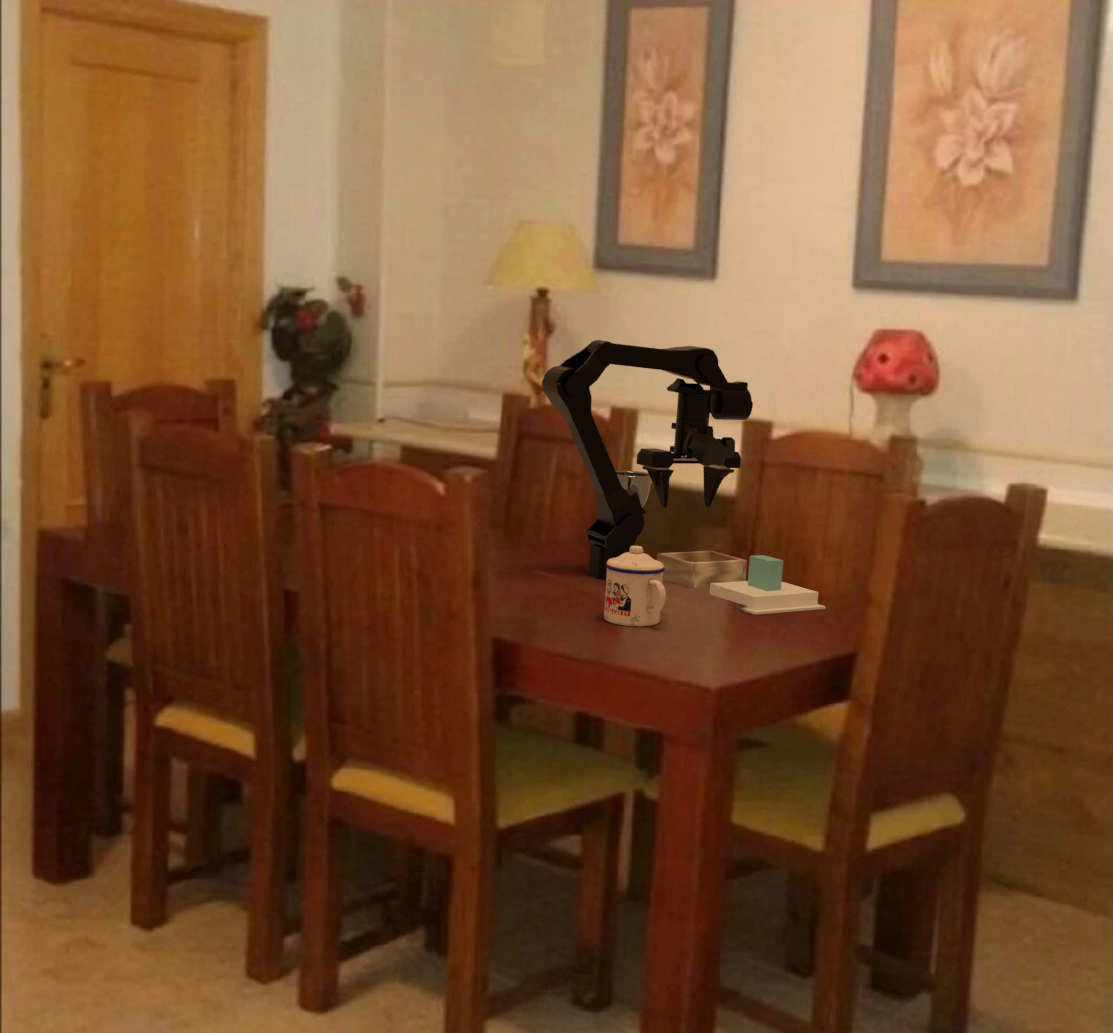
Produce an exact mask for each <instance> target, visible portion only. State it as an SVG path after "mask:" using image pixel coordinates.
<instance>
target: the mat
mask: <svg viewBox="0 0 1113 1033" xmlns="http://www.w3.org/2000/svg"><path fill="white" fill-rule="evenodd" d="M742 606H743V605H741V606H732V608H734V609H736V610H740V611H743V612H746V613H749V614H753V615H767V614H778V613H780V614H781V613H789V612H790V613H792V612H801V611H802V612H803V611H804V612H805V611H813V610H815V611H816V610H826V606H825V605H822V604H819V603H817V605H813V606H801V607H789V608H776V609H764V610H751V609H748V608H745V607H742Z"/></svg>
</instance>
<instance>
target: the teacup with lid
mask: <svg viewBox="0 0 1113 1033" xmlns="http://www.w3.org/2000/svg"><path fill="white" fill-rule="evenodd" d="M643 550H644V549H643V547H642V546H640V545H634V546H631V547H630V552H626V553H623V554H622V555H620V556H618V557H615V558H611V559H609V560H608V561H607V564H606V568H607V576H606V579H605V580H606V581H605V592H604V593H605V595H604V609H603V619H604V620H605V621H607V622H608V623H611V624H614V625H619V626H625V627H626V626H627V627H651V626H654V625H657V624H658V623H660V620H661V610H662V609H663V607H664V605H665V604H666V598H667V592H666V589H665V585H664V584H663V580H662V579H663V571H664V570H665V568H664V565H663V563H661V562H659V561H657V559H654V558H653V557H651V556H650V554H648V553H645V552H643Z"/></svg>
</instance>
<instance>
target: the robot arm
mask: <svg viewBox="0 0 1113 1033" xmlns="http://www.w3.org/2000/svg"><path fill="white" fill-rule="evenodd" d="M610 365H616V366H621V367H622V366H624V367H632V368H639V369H640V368H641V369H642V368H643V369H648V370H649V369H650V370H651V369H652V370H658V371H663V372H666V373H669V374H671V375H674V376H677V378H676V379H675V380H674V381H673V382H672V383H671V384H670V385H669V386H667V387H666V390H667V391H668V392H671V393H672V392H673V393H676V394H677V406H676V408H677V409H676V418H675V422H671V428H670V429H674V430H675V433H674V443H673V445H670V446H669V450H664V449H661V448H641V449H640V450H639V451H638V452H637V454H636V465H640V466H642V470H646V473H648V474H649V476H650V478H651V483H652V484H653V487H654V489H655V492H656V495H657V498H658V501H659V503H660V507H661V508H663V509H666V508H667V507H668V502H669V488H670V478H671V476H672V474H673V473H674V469H670V468H671V467H672V465H673V464H674V465H675V464H676V465H677V464H680V465H681V464H686V465H687V464H688V465H689V464H694V465H695V464H700V465H702V466H703V502H704V507H706V508H710V507H711V506H712V503H713V501H714V500H715V497H716V494H717V492H718V489H719V488H720V485H721V484H722V482H723V480H724V479H725V478H726V477H727V476H728V475H730V474H731V473H732V474H733V473H734V472H735V469H740V468H741V469H742V457H741V455H740V452H739V451H736V439H734V438H733V437H729V436H727V437H726V436H723V437H721V438H716V437H714V428H713V426H711V425H709V424H710V415H711V417H712V418H713V419H714V420H719V421H720V420H726V421H747V420H748V419H749V418H750V416H751V414H752V411H753V407H754V406H753V401H752V400H753V399H752V395H751V392H750V390H749V389H748V387H749V386H748V385H749V384H748V382H745V381H732V382H731V381H728V379H727V378H726V377H725V374H724V372H723V371H722V369H721V367H720V366H719V359H718V356H717V354H716V352H715V351H714V350H713V349H710V348H708V347H701V346H700V347H699V346H693V345H685V346H674V347H669V348H666V347H665V348H656V347H647V346H642V345H641V346H639V345H631V344H622V343H614V342H611V341H607V340H601V339H597V340H596V339H594V340H592V341H591V342H590V343H588V344H587V345H586V346H585V347H584V348H582V350H579V351H578V352H576V353H575V354H573V355H572V356H570V357H569V358H567V359H566V360H564V361H562V363H561V364H559V365H556V366H553V367H550V368H549V369H548V370H547V371H546V372H545V374H544V375H543V378H542V380H541V386H542V391H543V392H544V394H545V396H546V397H547V399H548V400H549V401H550V403H551V406H553V408H554V409H555V410H556V411H557V412H558V413H559V415H560V416H561V417H562V418H563V419H564V421H565V422H566V424H567V427H568V429H569V432H570V434H571V436H572V439H573V440H574V443H575V446H576V448H577V450H578V452H579V455H580V458H581V460H582V462H583V464H584V467H585V469H586V472H587V475H588V477H589V479H590V481H591V484H592V486H593V489H594V491H595V494H596V496H595V497H596V498H595V499H596V500H595V508H596V512H597V519H595V520H594V521H593V522H592V523H591V524H590V525H589V526H588V527H587V529H586V530H585V535H586V539H587V541H588V542H590V543H592V544H590V545H589V546H590V547H589V557H588V558H589V559H588V562H589V563H588V575H587V576H588V577H591V578H593V579H596V580H606V576H607V568H606V564H607V561H608V560H609V559H611V558H615V557H618V556H620V555H622V554H623V553H626V552H629V550H630V547H631V546H635V543H636V541H637V539H638V536H640V535H641V533H642V532H643V529H644V527H645V526H646V520H645V515H644V514H647V511H646V510H645V509H644V508H643V507H642V506H641V504H640V499H639V496H638V494H637V492H634V491H631V490H628V489H624V488H623V487H622V485H621V483H620V481H619V479H618V476H617V474H616V471H617V470H615V467H614V464H613V462H612V460H611V457H610V454H609V452H608V450H607V448H606V445H605V443H604V441H603V438H602V435H601V432H600V431H599V428H598V425H597V424H596V421H595V419H594V417H593V413H592V404H593V403H592V400H593V399H592V398H593V397H592V394H591V386H592V385H594V383H596V382H597V381H598V380H599V378H600V377H601V376H602V374H603V372H604V371H605V370H606V369H607V367H609V366H610ZM678 377H680V378H678ZM685 379H687V380H692V381H693V382H695V383H690V382H689V383H688V382H686V381H685ZM703 386H708V387H709V389H704V387H703Z"/></svg>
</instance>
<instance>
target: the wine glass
mask: <svg viewBox="0 0 1113 1033" xmlns="http://www.w3.org/2000/svg"><path fill="white" fill-rule="evenodd" d="M615 471H616V474H617V476H618V479H619V481H620V483H621V485H622V487H623V488H624V489H628V490H631V491H634V492H637V494H638V496H639V499H640V504H641V506H642V508H643V507H644V506H645V504H646V503H647V501H648V498H649V495H650V490H651V483H652V480H651V478H650V476H649V474H648V472H644V471H635V470H615ZM629 552H630V550H629ZM642 553H645V550H644V549H643V552H642Z"/></svg>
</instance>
